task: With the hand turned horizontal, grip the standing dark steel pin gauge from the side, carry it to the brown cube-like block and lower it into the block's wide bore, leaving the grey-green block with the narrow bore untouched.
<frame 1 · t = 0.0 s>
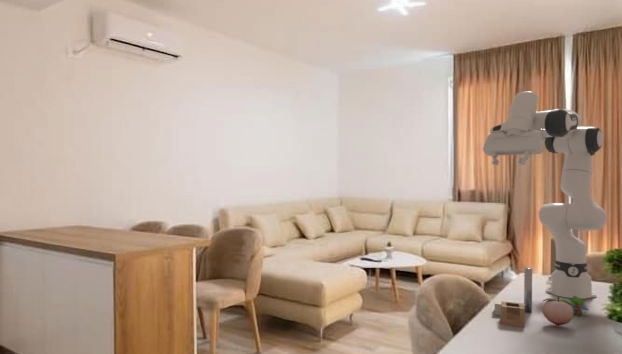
hand: (507, 164, 151), 54 cm above the table, tool tilted 30°, fingers open, 8 cm apart
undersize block: (505, 313, 159), on the table
pin gauge: (527, 311, 162), on the table
brown cube-like block: (512, 322, 149), on the table
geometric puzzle: (576, 315, 158), on the table
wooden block: (564, 280, 213), on the table
decorative fruit: (558, 327, 145), on the table
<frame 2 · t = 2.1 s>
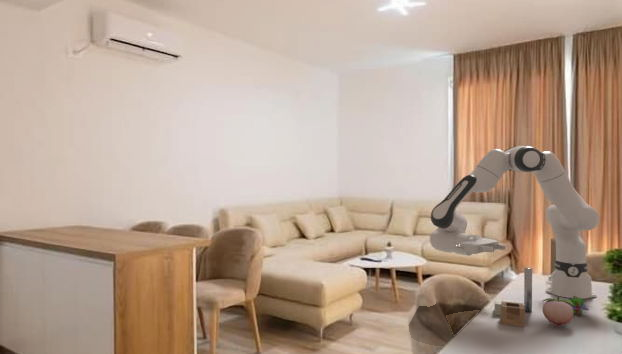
hand: (499, 248, 170), 22 cm above the table, tool horizontal, fingers open, 8 cm apart
nothing on the table moved.
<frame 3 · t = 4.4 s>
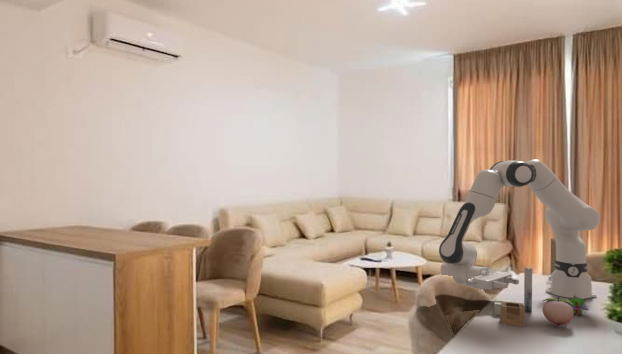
hand: (512, 284, 166), 9 cm above the table, tool horizontal, fingers open, 8 cm apart
nothing on the table moved.
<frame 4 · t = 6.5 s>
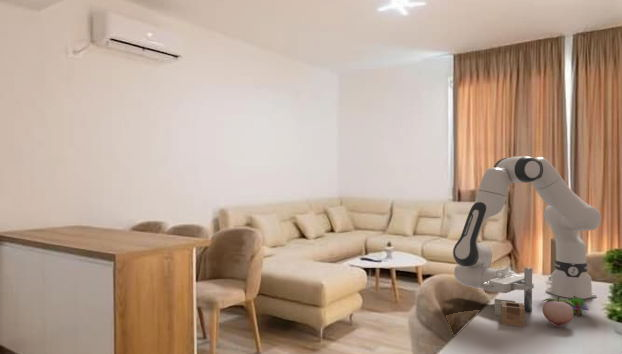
hand: (530, 287, 161), 9 cm above the table, tool horizontal, fingers closed on pin gauge, 3 cm apart
pin gauge: (527, 311, 162), on the table, touching gripper
everything else where it was.
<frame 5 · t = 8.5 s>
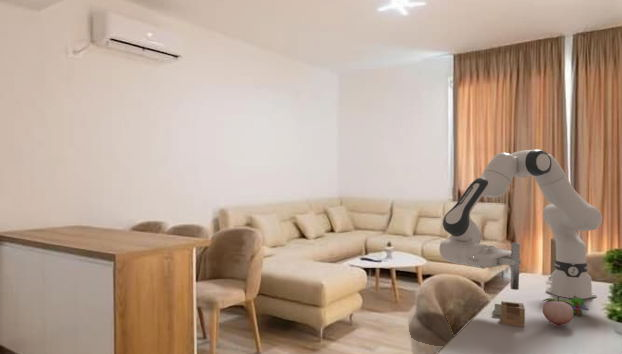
hand: (517, 262, 152), 20 cm above the table, tool horizontal, fingers closed on pin gauge, 3 cm apart
pin gauge: (514, 288, 152), point 11 cm above the table, touching gripper
everything else where it was.
when the fingers open (12 cm above the table, at t = 11.0 s): pin gauge stays where it is, resting on brown cube-like block.
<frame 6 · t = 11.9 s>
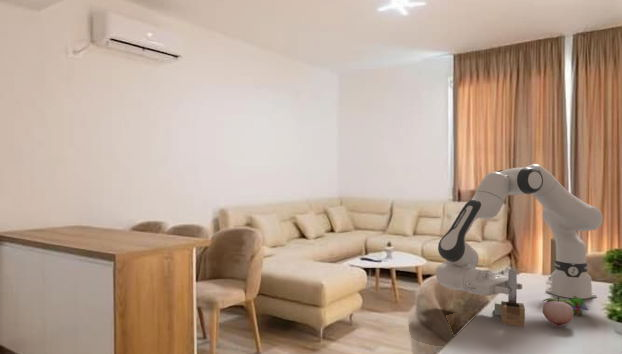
hand: (515, 289, 148), 12 cm above the table, tool horizontal, fingers open, 8 cm apart
pin gauge: (512, 316, 149), point 2 cm above the table, touching brown cube-like block
everything else where it was.
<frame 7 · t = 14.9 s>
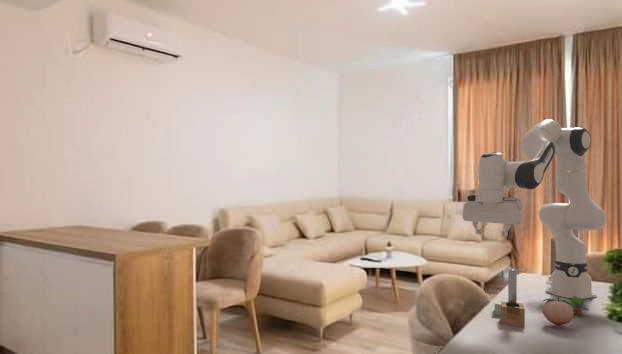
hand: (491, 235, 158), 29 cm above the table, tool pointing down, fingers open, 8 cm apart
nothing on the table moved.
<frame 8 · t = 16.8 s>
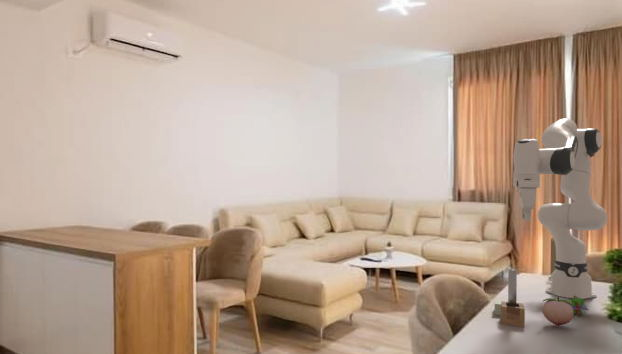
hand: (526, 220, 160), 34 cm above the table, tool pointing down, fingers open, 8 cm apart
nothing on the table moved.
at the end: pin gauge 0.1 cm off-centre on the brown cube-like block, point 2.0 cm above the brown cube-like block's base; pin gauge tilted 0°; the gripper is holding nothing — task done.
